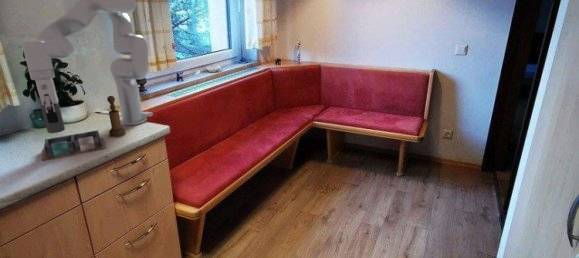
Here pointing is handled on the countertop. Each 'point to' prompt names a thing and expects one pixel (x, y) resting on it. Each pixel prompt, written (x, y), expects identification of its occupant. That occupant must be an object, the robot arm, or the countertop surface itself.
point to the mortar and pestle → (115, 120)
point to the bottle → (55, 126)
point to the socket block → (72, 145)
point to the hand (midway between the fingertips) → (53, 119)
